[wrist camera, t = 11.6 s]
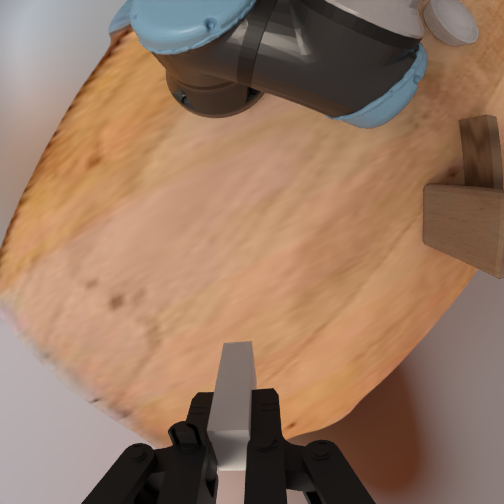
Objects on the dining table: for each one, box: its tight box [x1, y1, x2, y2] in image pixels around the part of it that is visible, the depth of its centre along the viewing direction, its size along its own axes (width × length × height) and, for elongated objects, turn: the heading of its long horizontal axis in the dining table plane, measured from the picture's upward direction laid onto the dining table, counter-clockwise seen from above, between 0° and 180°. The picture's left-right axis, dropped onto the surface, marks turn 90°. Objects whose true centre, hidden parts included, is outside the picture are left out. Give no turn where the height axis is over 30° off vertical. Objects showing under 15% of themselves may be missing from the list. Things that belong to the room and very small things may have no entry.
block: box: [423, 184, 504, 279], centre depth 33 cm, size 10×10×20 cm
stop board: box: [459, 115, 503, 190], centre depth 37 cm, size 22×2×8 cm, turn 6°
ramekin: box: [423, 0, 479, 46], centre depth 32 cm, size 11×11×5 cm
